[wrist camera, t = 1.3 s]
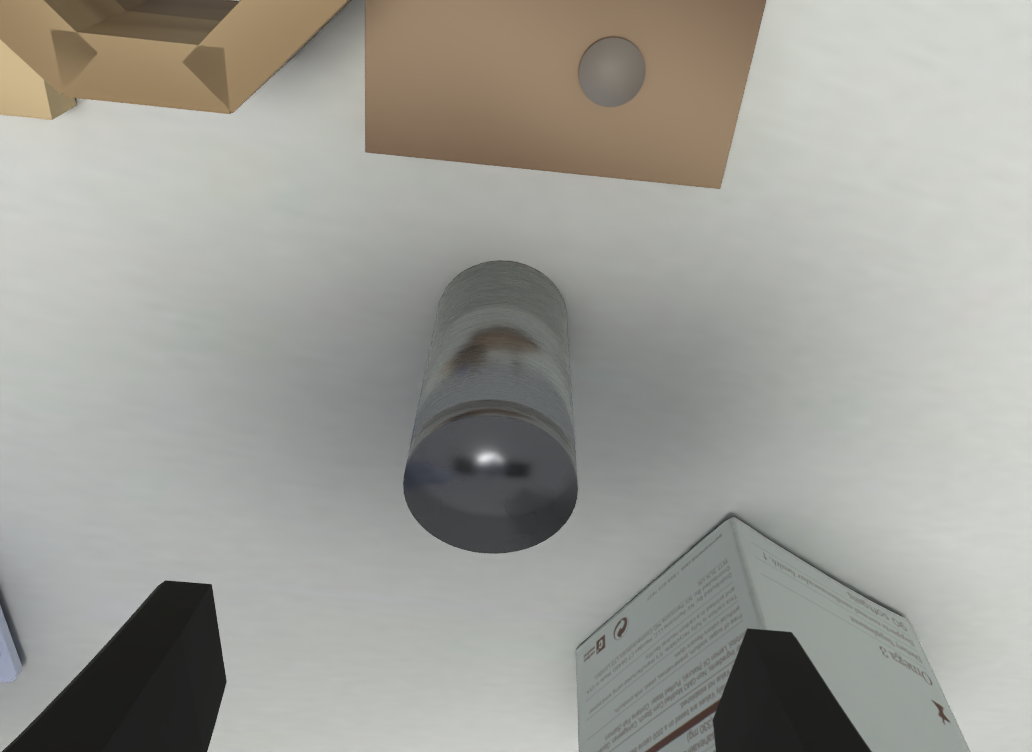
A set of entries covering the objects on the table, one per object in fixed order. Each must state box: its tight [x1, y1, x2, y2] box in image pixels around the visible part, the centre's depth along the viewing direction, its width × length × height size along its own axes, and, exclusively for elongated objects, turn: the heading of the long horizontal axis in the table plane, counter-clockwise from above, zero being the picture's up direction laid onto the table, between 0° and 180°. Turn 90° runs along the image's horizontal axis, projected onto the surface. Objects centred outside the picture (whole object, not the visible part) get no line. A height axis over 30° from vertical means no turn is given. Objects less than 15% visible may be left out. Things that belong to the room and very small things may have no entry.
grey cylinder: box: [403, 261, 578, 553], centre depth 17 cm, size 3×3×6 cm
